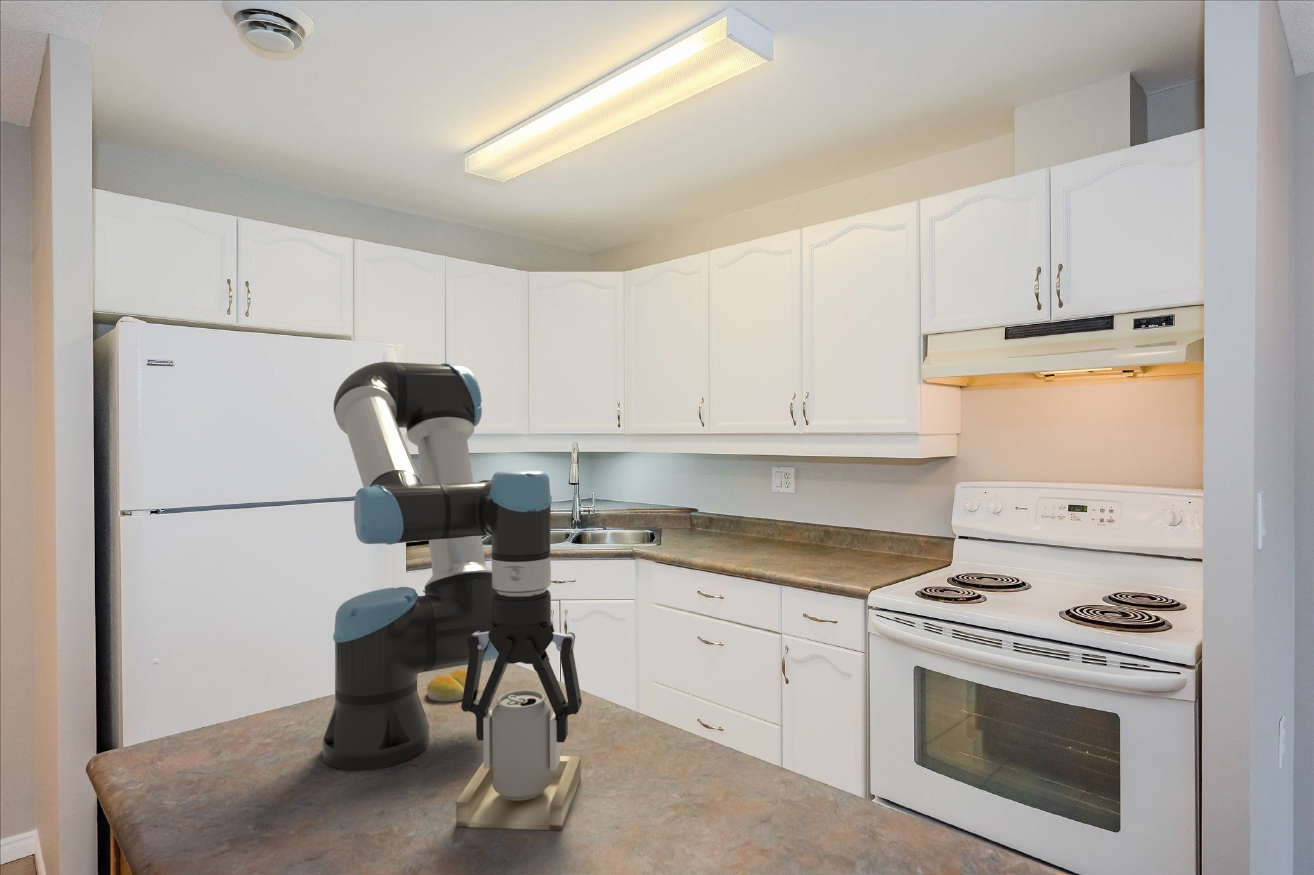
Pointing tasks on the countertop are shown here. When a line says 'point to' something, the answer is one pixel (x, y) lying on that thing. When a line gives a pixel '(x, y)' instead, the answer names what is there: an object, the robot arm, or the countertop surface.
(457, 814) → the can rest
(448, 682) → the bread roll
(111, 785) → the countertop surface
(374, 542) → the robot arm
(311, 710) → the countertop surface
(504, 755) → the can
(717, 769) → the countertop surface
